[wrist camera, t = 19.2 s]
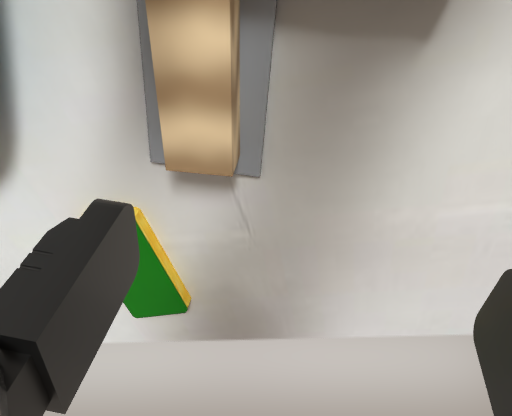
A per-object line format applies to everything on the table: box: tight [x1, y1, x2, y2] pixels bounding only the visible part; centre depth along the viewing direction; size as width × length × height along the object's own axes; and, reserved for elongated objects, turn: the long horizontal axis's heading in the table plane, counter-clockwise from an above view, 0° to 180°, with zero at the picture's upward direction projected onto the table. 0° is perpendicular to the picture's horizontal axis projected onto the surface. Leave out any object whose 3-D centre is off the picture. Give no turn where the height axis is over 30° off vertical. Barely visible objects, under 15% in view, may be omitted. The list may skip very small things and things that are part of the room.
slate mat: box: [137, 0, 277, 177], centre depth 34 cm, size 17×10×1 cm, turn 176°
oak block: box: [145, 0, 240, 177], centre depth 32 cm, size 14×6×4 cm, turn 179°
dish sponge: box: [123, 207, 191, 318], centre depth 48 cm, size 7×14×2 cm, turn 18°
